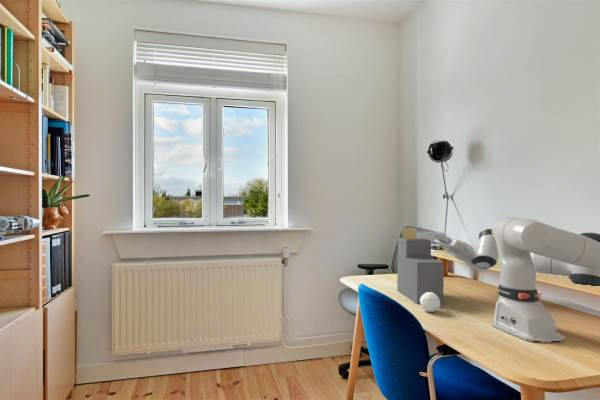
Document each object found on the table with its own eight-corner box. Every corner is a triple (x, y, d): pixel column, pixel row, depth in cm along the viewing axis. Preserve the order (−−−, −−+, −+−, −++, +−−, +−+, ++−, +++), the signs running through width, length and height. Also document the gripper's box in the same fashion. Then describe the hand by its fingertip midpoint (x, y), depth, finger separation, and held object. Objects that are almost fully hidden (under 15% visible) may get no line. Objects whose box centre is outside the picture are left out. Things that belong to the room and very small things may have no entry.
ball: (425, 316, 147) (423, 297, 152) (445, 313, 143) (441, 293, 148) (417, 310, 143) (415, 291, 148) (437, 306, 139) (434, 287, 143)
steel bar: (446, 239, 172) (446, 229, 172) (406, 239, 170) (406, 229, 170) (441, 238, 177) (441, 228, 177) (402, 238, 175) (402, 228, 175)
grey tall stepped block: (443, 303, 157) (444, 243, 156) (416, 303, 155) (417, 243, 155) (420, 290, 178) (421, 238, 178) (397, 290, 177) (398, 237, 177)
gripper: (468, 258, 165) (444, 243, 163) (445, 252, 185) (423, 238, 184) (475, 246, 165) (451, 231, 164) (451, 241, 185) (429, 227, 184)
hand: (436, 235), depth 174 cm, fingers closed on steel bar, 3 cm apart
